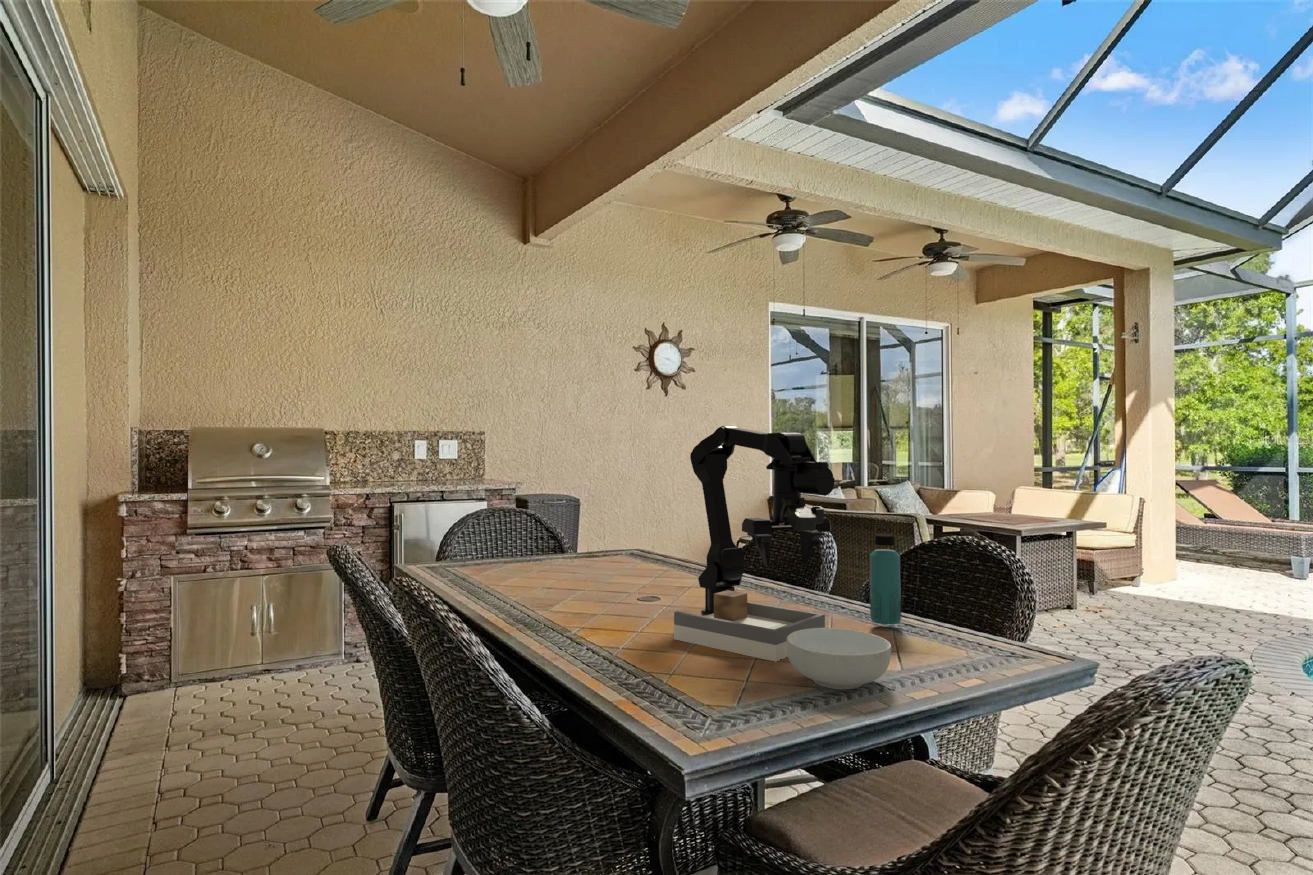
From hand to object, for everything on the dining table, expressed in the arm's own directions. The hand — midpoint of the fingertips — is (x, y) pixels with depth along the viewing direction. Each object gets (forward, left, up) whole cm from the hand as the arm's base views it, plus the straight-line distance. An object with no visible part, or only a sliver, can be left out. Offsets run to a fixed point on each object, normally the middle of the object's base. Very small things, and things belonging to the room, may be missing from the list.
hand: (786, 565), depth 162 cm
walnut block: (-8, -9, -11) cm, 16 cm away
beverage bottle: (+15, +16, -14) cm, 26 cm away
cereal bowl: (+25, -24, -14) cm, 37 cm away
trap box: (-1, -12, -14) cm, 18 cm away
